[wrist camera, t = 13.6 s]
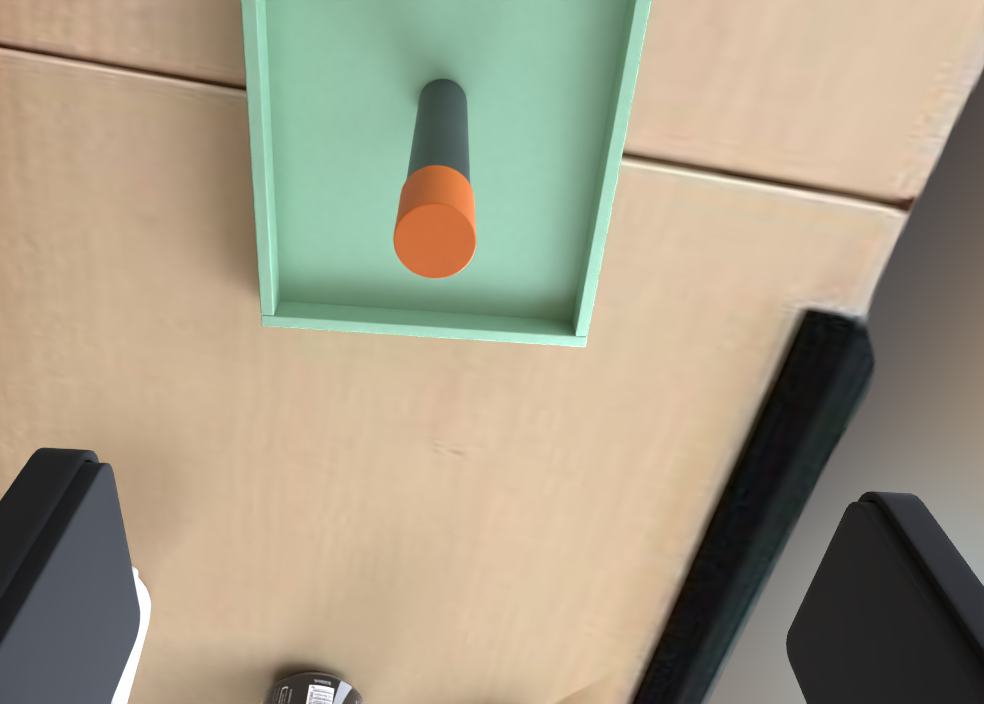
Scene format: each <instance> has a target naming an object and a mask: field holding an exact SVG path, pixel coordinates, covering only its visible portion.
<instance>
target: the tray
mask: <svg viewBox="0 0 984 704" xmlns="http://www.w3.org/2000/svg"><path fill="white" fill-rule="evenodd" d="M650 5H651V0H241V11H242V27H243V42H244V58H245V74H246V89H247V105H248V120H249V136H250V152H251V167H252V183H253V198H254V214H255V229H256V245H257V261H258V276H259V292H260V307H261V314H262V315H261V323H262V326H272V327H287V328H302V329H317V330H332V331H348V332H363V333H378V334H393V335H409V336H424V337H439V338H454V339H470V340H485V341H500V342H515V343H531V344H546V345H561V346H576V347H585V346H586V341H587V336H588V331H589V326H590V320H591V315H592V310H593V305H594V299H595V294H596V289H597V284H598V278H599V273H600V268H601V263H602V257H603V252H604V247H605V242H606V236H607V231H608V226H609V221H610V215H611V210H612V205H613V200H614V194H615V189H616V184H617V178H618V173H619V168H620V163H621V157H622V152H623V147H624V142H625V136H626V131H627V126H628V121H629V115H630V110H631V105H632V100H633V94H634V89H635V84H636V79H637V73H638V68H639V63H640V58H641V52H642V47H643V42H644V37H645V31H646V26H647V21H648V16H649V10H650ZM437 79H448V80H451V81H453V82H455V83H457V84H458V85H459V86H460V87H461V88H462V89H463V91H464V93H465V95H466V98H467V112H468V136H469V161H470V185H471V188H472V190H473V194H474V201H475V221H476V249H475V253H474V255H473V257H472V259H471V261H470V262H469V264H468V265H467V266H466V267H465V268H464V269H463V270H461V271H460V272H458V273H456V274H455V275H452V276H450V277H446V278H440V279H431V278H425V277H422V276H419V275H417V274H415V273H413V272H411V271H410V270H409V269H407V268H406V267H405V266H404V265H403V264H402V262H401V261H400V260H399V258H398V256H397V254H396V252H395V249H394V242H393V237H394V230H395V224H396V218H397V212H398V206H399V200H400V194H401V190H402V187H403V185H404V183H405V182H406V179H407V172H408V166H409V160H410V154H411V147H412V141H413V135H414V128H415V122H416V116H417V110H418V103H419V97H420V94H421V92H422V90H423V89H424V87H425V86H426V85H427V84H429V83H430V82H432V81H434V80H437Z"/></svg>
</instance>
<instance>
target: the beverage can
mask: <svg viewBox="0 0 984 704" xmlns="http://www.w3.org/2000/svg"><path fill="white" fill-rule="evenodd" d="M262 704H363V700H362V698H361V696H360V694H359V693H358V691H357V690H356V689H355V688H354V687H353V686H351V685H350V684H349V683H347V682H346V681H344V680H342V679H340V678H338V677H337V676H334V675H332V674H328V673H324V672H303V673H299V674H296V675H292V676H289V677H286V678H284V679H282V680H280V681H278V682H277V683H275V684H274V685H273V686H272V687H270V689H269V690H268V691H267V692H266V694H265V696H264V699H263V703H262Z"/></svg>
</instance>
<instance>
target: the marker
mask: <svg viewBox="0 0 984 704" xmlns="http://www.w3.org/2000/svg"><path fill="white" fill-rule="evenodd" d="M393 242H394V249H395V252H396V254H397V256H398V258H399V260H400V261H401V262H402V264H403V265H404V266H405V267H406V268H407V269H409V270H410V271H411V272H413V273H415V274H417V275H419V276H422V277H425V278H431V279H440V278H446V277H450V276H452V275H455V274H456V273H458V272H460V271H461V270H463V269H464V268H465V267H466V266H467V265H468V264H469V262H470V261H471V259H472V257H473V255H474V253H475V249H476V221H475V201H474V194H473V190H472V188H471V185H470V161H469V136H468V112H467V98H466V95H465V93H464V91H463V89H462V88H461V87H460V86H459V85H458V84H457V83H455V82H453V81H451V80H448V79H437V80H434V81H432V82H430V83H429V84H427V85H426V86H425V87H424V89H423V90H422V92H421V94H420V97H419V103H418V110H417V116H416V122H415V128H414V135H413V141H412V147H411V154H410V160H409V166H408V172H407V179H406V182H405V183H404V185H403V187H402V190H401V194H400V200H399V206H398V212H397V218H396V224H395V230H394V237H393Z"/></svg>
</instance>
